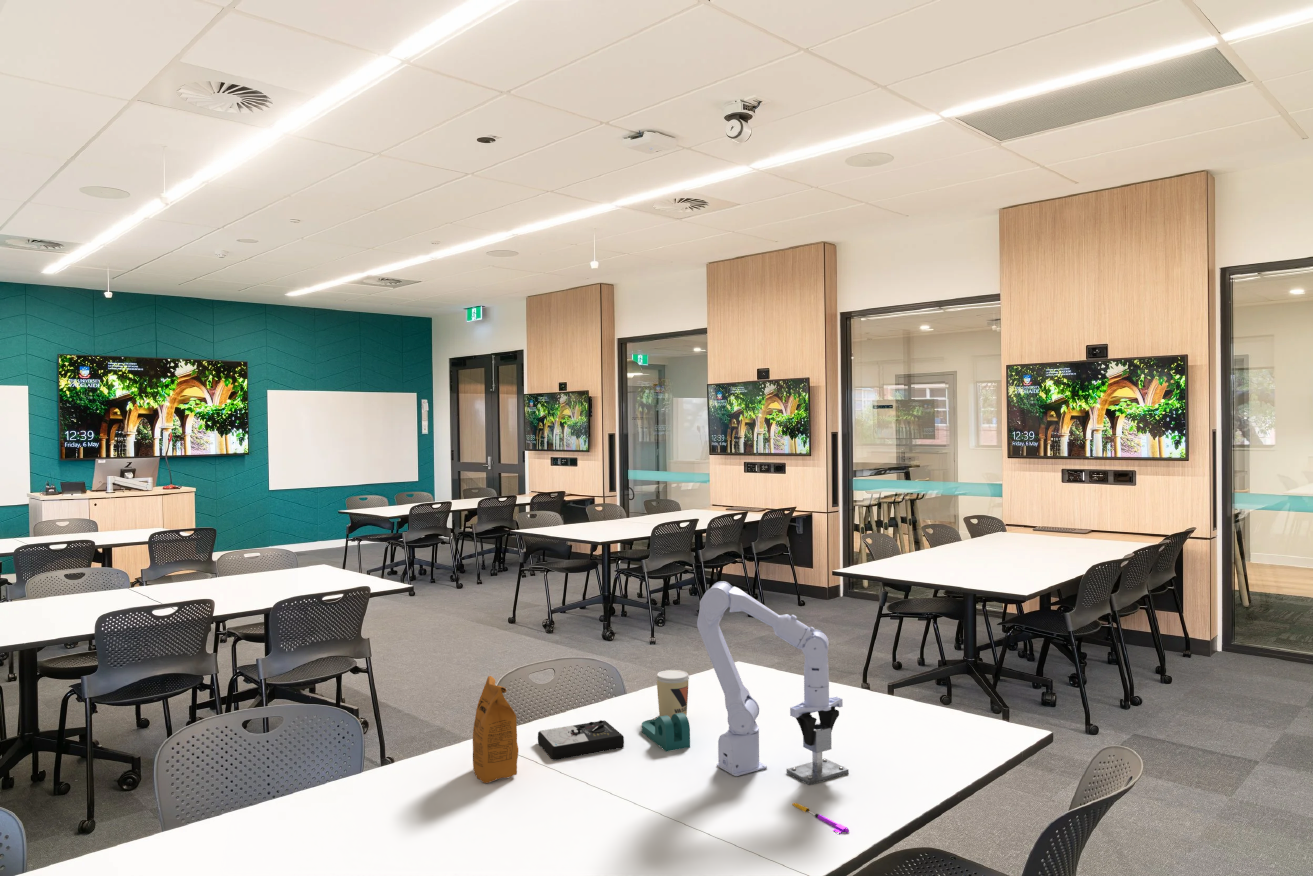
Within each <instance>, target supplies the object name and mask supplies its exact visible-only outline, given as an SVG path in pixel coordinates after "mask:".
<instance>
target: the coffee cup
mask: <svg viewBox="0 0 1313 876" xmlns="http://www.w3.org/2000/svg"><path fill="white" fill-rule="evenodd" d="M655 677H656V678H655V679H656V689H657V704H658V712H659V713H658V714H659V716H665V715H667V716H669V717H670V719H671V717H672V715H673V714H677V713H684V714H685V715H686V716H687V715H688V714H687V713H688V703H689V702H688V699H689V698H688V697H689V696H688V695H689V680H690V676H689V673H688V672H687V671H684V670H679V669H667V670H662V671H659V672H657V675H656V676H655ZM687 717H688V716H687Z"/></svg>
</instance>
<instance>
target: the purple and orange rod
mask: <svg viewBox="0 0 1313 876" xmlns="http://www.w3.org/2000/svg"><path fill="white" fill-rule="evenodd" d="M792 806H794V807H795V808H797V809H799V810H800V811H802V812H804V813H807V812H808V813H810V814H811V815H814V816H815V818H817V819H818V820H820V821H822V822H823V821H824V823H825V822H826V824H827V823H828V824H827V825H829V826H831V825H832V827H833V828H834V829H833V831H835V832H839V833H841V832H847V833H846V834H849V833H850V830H849V828H848V827H847V826H846V825H843V824H841V823H837V822H836V821H834V820H832V819H830V818H828V817H826V816H824V815H822V814H819V813H814V812H812V811H810V808H809V807H807V806H804V805H802V804H800V803H797V802H793V803H792ZM848 832H849V833H848ZM841 834H842V833H841Z"/></svg>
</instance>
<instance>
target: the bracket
mask: <svg viewBox="0 0 1313 876" xmlns="http://www.w3.org/2000/svg"><path fill="white" fill-rule="evenodd" d="M690 725H691V724H690V721H689V718H688V716H686V715H685V714H684V713H677V714H673V715H672V717H671V719H670V717H669V716H667V715H665V716H660V715H659V716H657V717H656V718H654V719H647V720H643V721H642V722H641V733H642V734H643V735H645V737H647V738H648V739H650V740H651V741H652V742H653V743H655V744H656V745H657V746H659V747H660V748H661V749H662V748H663V749H662V750H664V752H670V751H671V752H672V751H677V750H683V749H688V748H691V727H690Z"/></svg>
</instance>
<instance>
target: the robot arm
mask: <svg viewBox="0 0 1313 876" xmlns="http://www.w3.org/2000/svg"><path fill="white" fill-rule="evenodd" d="M728 608H729V613H736V612H739V613H740V612H743V613H746V614H747V615H749V616H751V617H753V618H754V619H756V620H759V621H761V622H762V623H764V624H765V625H767V626H769V627H772V629H773V632H774V635H775V636H776V637H778V638H779V639H781V640H783V641H785V642H786V643H788V644H789V645H791V646H793V647H794V648H796V649H797V650H801V651H802V654H803V656H804V663H803V686H804V687H803V691H804V693H803V695H804V696H803V697H804V699H803V701H802V702H800V703H797V704H796V705H794V706H790V707H789V709H790V710H789V715H790V716H791V717H792V718H795V720H796V722H797V723H798V725H799V728H800V730H801V733H802V738H803V737H804V741H805V744H807V745H809V746H812V745H813V740H814V727H815V723H817V720H818V719H817V718H816V717H813V715H812V713H816V712H817V714H818V718H819V723H821V724H823V725H826V726H828V727H830V728H831V733H832V732H833V728H834V725H835V722H836V721H837V719H838V717H839V716H840V711H839V709H836V708H842V707H843V703H844V702H843V698H841V697H838V696H833V697H830V676H829V675H830V674H829V673H830V670H829V669H830V668H829V667H830V666H829V657H828V653H829V646H830V642H829V638H828V636H827V635H826V633H824V632H823V630H820V629H815V627H813V626H808V625H806V624H805V623H803V622H801V621H800V620H798V616H796V615H795V614H791V615H790V614H788V613H787V614H786V613H785V614H778V613H777V612H776V611H773V610H772V609H770V608H769V607H768V606H766V605H764V604H763V603H761V601H758V600H757V599H755V598H754V597H753V596H751V595H749V594H748V593H746V592H745V591H743V590H742V589H741V588H739V587H737V586H733V585H731V584H730V583H729V582H728V581H724V580H723V581H721V580H720V581H717V582H715V583H713V585H712V586H711V587H710V588H708V589H707V590H706V591H705V593H704V594H703V596H702V598H700V600H699V611H698V615H697V622H696V627H697V629H698V633H699V635H700V637H701V640H702V642H703V645H704V648H705V650H706V652H707V654H708V657H709V660H710V662H711V664H712V668H713V670H714V672H715V675H716V677H717V679H718V682H719V684H720V686H721V690H722V691H723V694H724V703H725V704H724V705H725V709H726V711H727V724H728V730H727V731H726V732H724V733H722V734H721V735H719V737H718V741H717V743H718V744H717V749H718V751H717V752H718V757H717V758H718V759H717V760H718V761H717V763H716V766H717V767H718V768H720V769H722V770H724V771H725V772H727V773H728V774H730V775H732V776H734V777H739V776H742V775H743V776H744V775H747V774H750V773H754V772H758V771H761V770H764V769H767V768H768V766H767V765H766V764H764V763H762V762H761V761H760V727H759V725H758V724H757V721H756V720H757V718H758V716H759V714H760V706H759V704H758V702H757V701H756V700H755V699H754V697H752V695H751V694H750V691H749V690H748V689H747V687H746V686H745V685H744V684H743V681H742V678H741V676H740V674H739V671H738V668H737V666H736V663H735V661H734V658H733V656H732V654H731V652H730V649H729V646H728V644H727V641H726V638H725V636H724V634H723V631H722V629H721V627H720V623H721V621H722V619H723V617H724V614H725V611H726V610H728Z"/></svg>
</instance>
